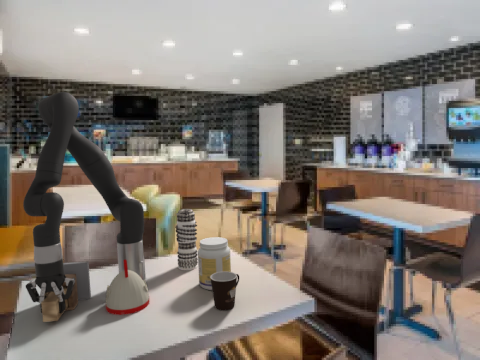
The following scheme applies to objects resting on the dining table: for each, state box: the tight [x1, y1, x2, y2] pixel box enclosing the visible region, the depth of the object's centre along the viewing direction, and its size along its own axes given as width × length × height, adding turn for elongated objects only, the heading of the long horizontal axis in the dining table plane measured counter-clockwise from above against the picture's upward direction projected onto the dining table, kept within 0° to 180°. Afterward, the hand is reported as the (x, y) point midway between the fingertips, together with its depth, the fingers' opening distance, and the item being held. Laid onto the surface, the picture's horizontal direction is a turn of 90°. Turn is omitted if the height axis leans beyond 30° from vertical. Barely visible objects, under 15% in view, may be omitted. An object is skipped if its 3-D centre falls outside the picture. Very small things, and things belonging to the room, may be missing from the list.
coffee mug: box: [210, 271, 240, 311], centre depth 117 cm, size 12×9×10 cm
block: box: [47, 274, 79, 312], centre depth 118 cm, size 8×5×10 cm, turn 98°
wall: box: [63, 261, 92, 301], centre depth 124 cm, size 14×2×13 cm, turn 98°
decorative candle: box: [175, 208, 199, 271], centre depth 153 cm, size 9×9×25 cm
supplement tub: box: [197, 236, 232, 291], centre depth 134 cm, size 12×12×17 cm
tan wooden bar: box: [41, 286, 69, 323], centre depth 112 cm, size 4×12×6 cm, turn 8°
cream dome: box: [105, 260, 150, 316], centre depth 119 cm, size 14×14×15 cm
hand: (53, 312), depth 109 cm, fingers closed on tan wooden bar, 4 cm apart
